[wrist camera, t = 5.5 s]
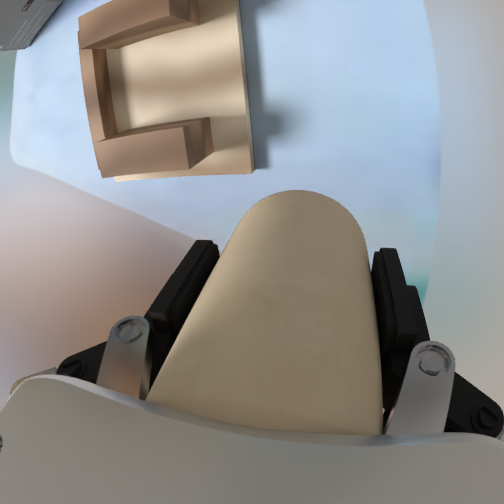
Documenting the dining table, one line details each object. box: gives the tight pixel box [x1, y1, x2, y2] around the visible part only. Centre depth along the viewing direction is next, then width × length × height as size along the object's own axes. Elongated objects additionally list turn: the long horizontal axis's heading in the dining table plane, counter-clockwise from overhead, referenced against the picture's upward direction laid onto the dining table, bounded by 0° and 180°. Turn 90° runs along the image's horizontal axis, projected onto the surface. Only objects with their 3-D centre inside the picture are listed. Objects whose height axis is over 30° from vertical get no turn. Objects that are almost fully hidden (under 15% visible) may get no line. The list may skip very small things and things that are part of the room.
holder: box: [78, 0, 255, 182], centre depth 19 cm, size 18×14×6 cm
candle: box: [145, 190, 383, 435], centre depth 8 cm, size 6×6×10 cm
